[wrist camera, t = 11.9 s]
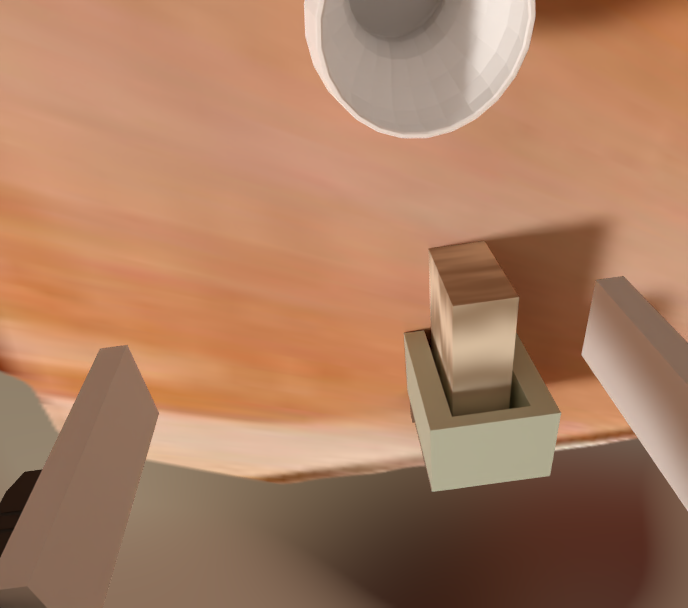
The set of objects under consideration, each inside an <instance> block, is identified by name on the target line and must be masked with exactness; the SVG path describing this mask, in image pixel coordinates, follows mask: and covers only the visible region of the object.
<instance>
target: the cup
mask: <svg viewBox="0 0 688 608" xmlns="http://www.w3.org/2000/svg"><path fill="white" fill-rule="evenodd" d="M304 14H305V37H306V40H307V44H308V47H309V51H310V54H311V58H312V61H313V65H314V67H315V69H316V71H317V73H318V74H319V76H320V78H321V79H322V81H323V83H324V85H325V86H326V88H327V90H328V91H329V92H330V94H331V95H332V96H333V97H334V98H335V99H336V100H337V101H338V102H339V103H340V104H341V105H342V106H343V107H344V108H345V109H346V110H347V111H348V112H349V113H350V114H351V115H352V116H353V117H354V118H355V119H356V120H358V121H360V122H361V123H363V124H365V125H367V126H368V127H370V128H372V129H374V130H375V131H377V132H380V133H384V134H387V135H391V136H395V137H399V138H430V137H434V136H437V135H441V134H445V133H449V132H453V131H455V130H456V129H458V128H460V127H462V126H464V125H466V124H468V123H470V122H471V121H473V120H475V119H477V118H478V117H479V116H480V115H482V114H483V113H484V112H485V111H486V110H487V109H488V108H490V107H491V106H492V105H493V104H494V103H495V102H497V101H498V100H499V98H500V97H501V96H502V94H503V93H504V92H505V90H506V89H507V88H508V86H509V85H510V84H511V82H512V81H513V80H514V78H515V77H516V75H517V73H518V71H519V69H520V67H521V65H522V62H523V60H524V58H525V56H526V54H527V51H528V49H529V46H530V42H531V37H532V32H533V27H534V23H535V18H536V3H535V0H305V1H304Z"/></svg>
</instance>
